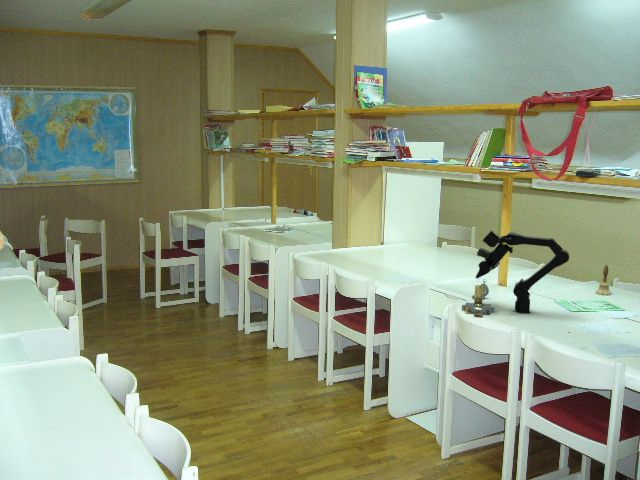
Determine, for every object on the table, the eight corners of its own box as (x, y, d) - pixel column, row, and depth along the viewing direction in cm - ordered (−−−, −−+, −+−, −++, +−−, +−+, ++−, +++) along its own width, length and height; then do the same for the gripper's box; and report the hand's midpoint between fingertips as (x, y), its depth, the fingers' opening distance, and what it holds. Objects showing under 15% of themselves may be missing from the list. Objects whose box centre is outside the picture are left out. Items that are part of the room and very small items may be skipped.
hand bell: (608, 292, 374) (611, 264, 372) (613, 295, 366) (616, 267, 364) (593, 291, 375) (595, 263, 373) (598, 295, 367) (600, 266, 364)
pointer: (482, 316, 321) (482, 313, 321) (482, 317, 318) (482, 315, 318) (474, 315, 322) (474, 312, 322) (474, 317, 319) (474, 314, 319)
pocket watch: (470, 298, 354) (471, 280, 352) (474, 295, 361) (475, 277, 360) (486, 300, 350) (487, 282, 349) (489, 297, 358) (491, 279, 356)
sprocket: (494, 307, 336) (495, 285, 334) (495, 315, 320) (496, 293, 319) (461, 305, 339) (463, 283, 337) (461, 313, 324) (462, 291, 322)
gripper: (491, 239, 341) (472, 262, 348) (480, 245, 325) (461, 268, 332) (508, 254, 338) (488, 276, 345) (498, 261, 322) (478, 284, 329)
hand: (478, 276), depth 337 cm, fingers open, 9 cm apart
